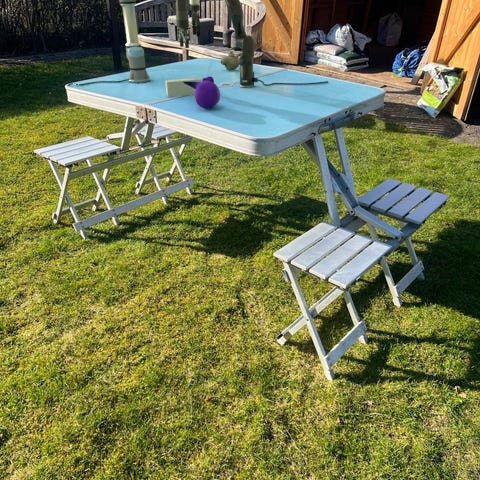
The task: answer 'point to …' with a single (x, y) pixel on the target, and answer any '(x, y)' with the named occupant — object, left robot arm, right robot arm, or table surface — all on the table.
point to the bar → (180, 87)
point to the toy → (205, 92)
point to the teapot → (231, 61)
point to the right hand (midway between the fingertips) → (184, 47)
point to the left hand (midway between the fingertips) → (196, 35)
